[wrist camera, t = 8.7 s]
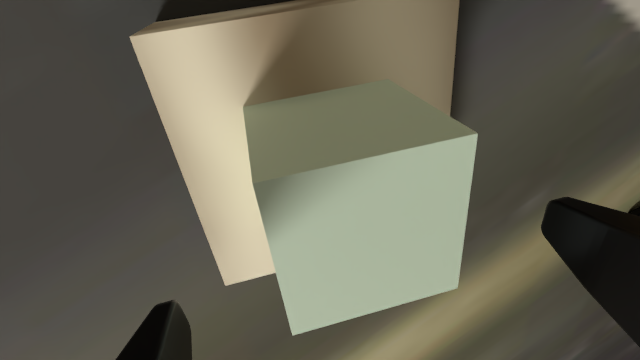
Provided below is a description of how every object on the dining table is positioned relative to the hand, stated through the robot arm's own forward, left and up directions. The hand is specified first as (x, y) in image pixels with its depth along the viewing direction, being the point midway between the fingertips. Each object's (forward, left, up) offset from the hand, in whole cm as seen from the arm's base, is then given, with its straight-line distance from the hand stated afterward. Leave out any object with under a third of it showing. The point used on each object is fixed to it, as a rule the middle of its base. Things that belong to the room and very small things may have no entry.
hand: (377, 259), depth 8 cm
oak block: (0, 0, -10) cm, 10 cm away
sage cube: (0, 0, -6) cm, 6 cm away
